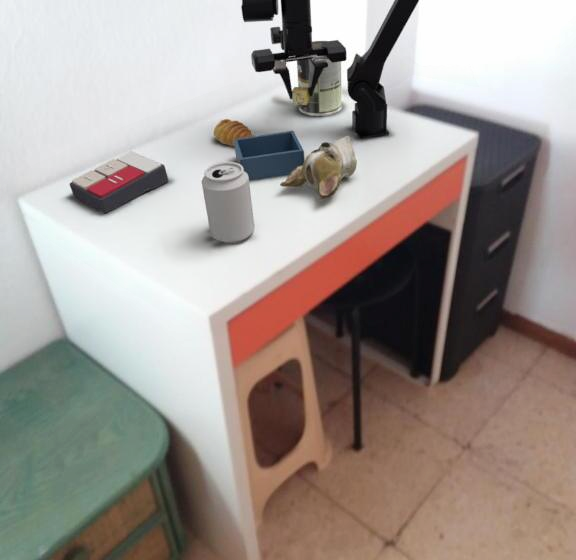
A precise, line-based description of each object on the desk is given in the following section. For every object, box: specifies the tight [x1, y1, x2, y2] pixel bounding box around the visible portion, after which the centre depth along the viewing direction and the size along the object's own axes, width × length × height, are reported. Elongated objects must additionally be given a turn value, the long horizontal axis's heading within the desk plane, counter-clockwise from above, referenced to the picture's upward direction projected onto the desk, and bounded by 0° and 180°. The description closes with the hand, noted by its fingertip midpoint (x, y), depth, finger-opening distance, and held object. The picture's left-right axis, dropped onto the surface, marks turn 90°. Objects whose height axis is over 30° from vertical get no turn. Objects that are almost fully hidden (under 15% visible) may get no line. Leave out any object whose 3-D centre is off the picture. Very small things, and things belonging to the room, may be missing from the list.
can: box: [201, 161, 255, 244], centre depth 98 cm, size 8×8×12 cm
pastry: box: [213, 118, 254, 147], centre depth 131 cm, size 9×7×4 cm
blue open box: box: [233, 130, 305, 181], centre depth 120 cm, size 12×10×5 cm
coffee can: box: [296, 40, 343, 117], centre depth 139 cm, size 10×10×14 cm
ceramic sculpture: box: [279, 135, 358, 200], centre depth 111 cm, size 11×9×15 cm
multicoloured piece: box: [69, 151, 169, 214], centre depth 116 cm, size 11×4×15 cm
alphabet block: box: [291, 86, 309, 106], centre depth 127 cm, size 3×3×3 cm
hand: (300, 97), depth 128 cm, fingers closed on alphabet block, 4 cm apart
